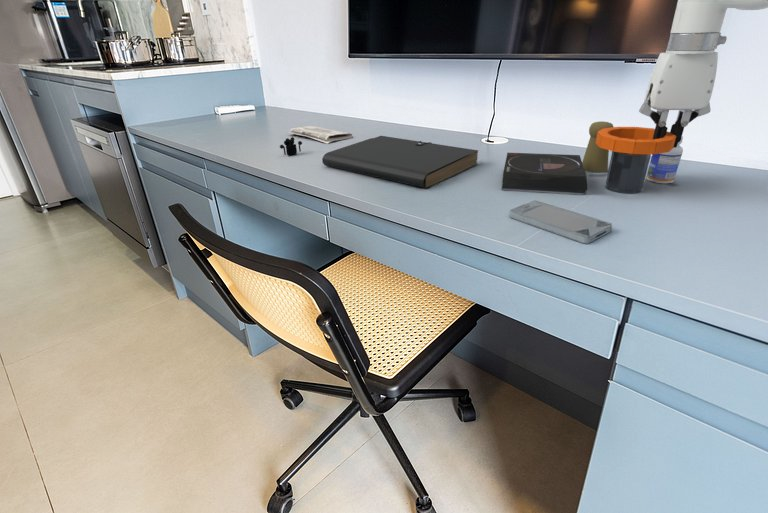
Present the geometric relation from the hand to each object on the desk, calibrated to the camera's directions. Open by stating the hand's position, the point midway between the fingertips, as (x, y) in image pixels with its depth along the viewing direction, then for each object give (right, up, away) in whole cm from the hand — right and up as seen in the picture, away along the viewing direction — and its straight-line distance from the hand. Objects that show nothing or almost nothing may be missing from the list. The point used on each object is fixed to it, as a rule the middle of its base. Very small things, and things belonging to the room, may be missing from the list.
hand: (664, 145), depth 87 cm
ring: (-6, 0, +1) cm, 6 cm away
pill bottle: (+5, -6, +9) cm, 12 cm away
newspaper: (-79, +19, +63) cm, 102 cm away
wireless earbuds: (-84, +8, +42) cm, 94 cm away
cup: (-5, -8, +5) cm, 11 cm away
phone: (-25, -17, -9) cm, 32 cm away
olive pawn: (-6, -1, +18) cm, 19 cm away
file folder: (-53, +1, +27) cm, 59 cm away
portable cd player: (-20, -5, +12) cm, 24 cm away
